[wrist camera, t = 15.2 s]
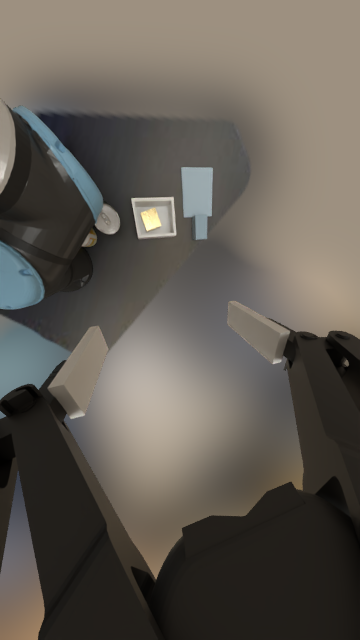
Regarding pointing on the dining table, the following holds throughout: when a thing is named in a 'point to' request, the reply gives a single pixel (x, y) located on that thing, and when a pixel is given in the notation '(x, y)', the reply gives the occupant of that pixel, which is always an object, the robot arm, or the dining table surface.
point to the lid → (197, 198)
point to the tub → (164, 213)
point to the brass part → (150, 219)
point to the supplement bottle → (90, 239)
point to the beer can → (108, 220)
